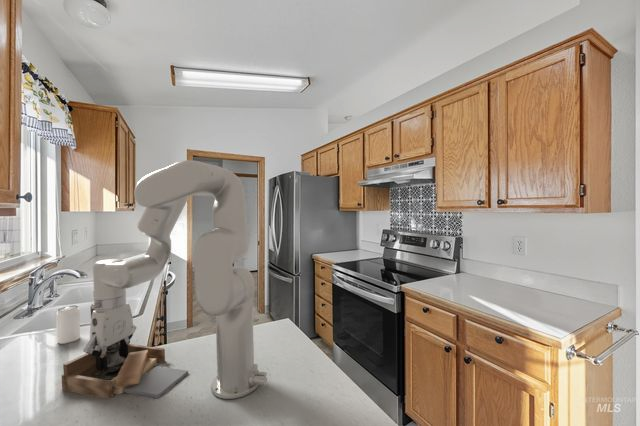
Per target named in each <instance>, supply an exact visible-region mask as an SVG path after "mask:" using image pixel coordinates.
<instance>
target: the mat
mask: <svg viewBox="0 0 640 426" xmlns="http://www.w3.org/2000/svg"><path fill="white" fill-rule="evenodd" d="M188 374H189V370H185V369H180V368H178V369H177V368H172V367H164V366H160V365H159V366H158V365H155V366H154V367H153V368H152V369H150V370H149V371H148V372H147V373H146V374H144V375H143V376H142V377H141V378H140V381H139V383H138V384H134V385H129V386H127V387H125V388H124V392H123V393H128V394H129V393H130V394H134V395H140V396H146V397H152V398H156V399H159V398H160V397H161V396H162V395H164V394H165V393H166V392H168V391H169V390H170V389H171V388H172V387H174V386H176V384H177V383H178V382H180V381H181V380H182V379H184V378H185V377H186V376H187V375H188Z"/></svg>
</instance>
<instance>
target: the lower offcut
mask: <svg viewBox="0 0 640 426" xmlns="http://www.w3.org/2000/svg"><path fill="white" fill-rule="evenodd" d="M157 363H158V362H157V360H156V358H148V360H147V362H146V365H145V368H144V370H143V373H142V376H143V375H144V374H146V373H147V372H149V371H150V370H152V369H153V368H155V367H156V366H157ZM142 376H141V377H142ZM116 377H117V376H116ZM116 377H115V378H111V380H110V381H112V391H113V394H122V393H125V392H124V388H125V387H127V386H124V387H119V388H116Z"/></svg>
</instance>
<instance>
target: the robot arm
mask: <svg viewBox="0 0 640 426" xmlns="http://www.w3.org/2000/svg"><path fill="white" fill-rule="evenodd" d="M191 196H201V197H202V196H203V197H205V196H206V197H213V198H214V203H213V205H212V211H211V218H212V229H211V230H208V231H205V232H204V233H202V234H201V235H200V236H199V237H198V239H196V242H195V244H194V248H193V250H192V251H193V252H192V258H193V259H192V261H193V276H194V289H195V299H196V303H197V304H198V307H199V308H200V310H201V311H202V312H203V313H204V314H206V315H207V316H211V317H216V318H215V332H216V333H215V337H216V339H215V340H216V360H217V361H216V366H217V367H216V371H217V376H216V377H215V378H213V380H212V382H211V393H212V394H213V395H214V396H215V397H218V398H219V399H224V400H225V399H226V400H231V399H233V400H234V399H238V398H239V399H240V398H241V397H242V398H243V397H245V396H247V395H249V394H251V393H253V392H254V391H255V390H256V389H257V388H258V387H259V385H260V386H266V385H267V383H268V377H267V374H268V373H267V372H266V371H259V369H258V367H259V364H257V363H255V351H254V349H255V347H254V344H255V343H254V301H255V293H256V291H255V290H256V284H255V283H256V282H255V278H254V275H253V274H252V272H251V271H250V270H249V269H247V268H246V267H244V266H239V265H237V266H233V264H235V263H236V262H238V261H241V260H242V259H243V258H245V256H246V255H247V253H248V249H249V240H248V228H247V216H246V202H245V201H246V200H245V199H246V198H245V189H244V185H243V183H242V181H241V179H240V178H239V177H238V176H237V175H236V174H235V173H234V172H232V171H231V170H229V169H228V168H227V169H226V168H224V167H222V166H219V165H215V164H213V163H206V162H202V161H198V160H193V159H192V160H191V159H189V160H181V161H179V162H175V163H173V164H171V165H170V164H169V166H165V167H164V168H161V169H158V170H155V171H153V172H151V173H149V174H146V175H145V176H143V177H142V178H141V179H140V180H139V181H137V183H136V184H135V187H134V192H133V197H134V199H135V201H136V203H137V204H138V205H139V206H140V207H141V208H144V211H143V212H142V215H141V216H140V219H139V220H138V222H137V228H138V230H139V232H141V234H142V235H145V236H146V237H149V238H150V242H149V243H150V244H149V246H148V248H147V250H146V252H145V254H144V256H139V257H136V258H131V259H128V260H123V259H121V258H108V259H100V260H97V261H96V262H94V264H93V266H92V273H93V274H92V278H93V281H92V282H93V291H94V294H93V303H94V304H93V303H91V305H90V309H91V308H92V309H95V310H94V311H93V313H92V318H91V317H90V326H89V327H90V328H89V329H90V330H89V341H88V342H87V343H86V345H85V347H84V348H83V351H82V352H83V353H85V354H86V353H88V354H90V355H92V356H93V357H96V368H97V370H100V371H102V372H104V371H106V370H107V356H105V353H106V349H107V347H108V346H111V345H113V344H115V343H117V342H119V343H120V344H119V345H118V346H120V348H119V355H120V356H122V357H125V360H126V358H127V356H128V344H131V339H132V338H133V336H134V333H135V331H136V330H137V326H136V325H134V319H133V314H132V313H133V312H132V308H131V305H130V302H128V301H127V289H130V288H133V287H135V286H136V287H137V286H139V285H140V284H143V283H147V282H149V281H153V280H155V279H157V278H158V277H159V275H160V274H161V273H162V272H163V270H164V269H165V267H166V264H168V261H169V258H170V257H171V253H172V240H171V233H172V232H173V230H174V227H175V225H176V224H177V222H178V220H179V218H180V216H181V214H182V212H183V210H184V207H185V206H186V205H187V202H188V200H189V197H191ZM94 346H96V347H95V350H94V349H93V347H94ZM100 348H101V352H100Z"/></svg>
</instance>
